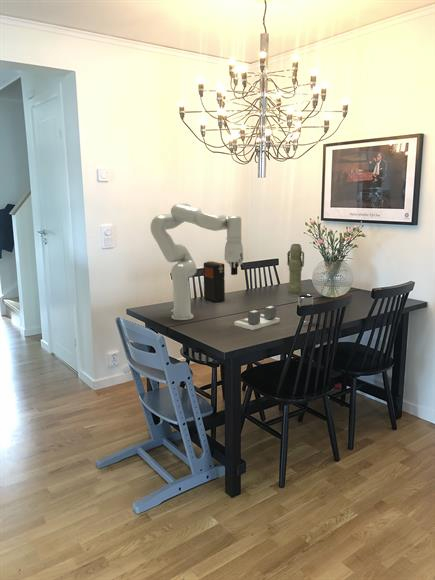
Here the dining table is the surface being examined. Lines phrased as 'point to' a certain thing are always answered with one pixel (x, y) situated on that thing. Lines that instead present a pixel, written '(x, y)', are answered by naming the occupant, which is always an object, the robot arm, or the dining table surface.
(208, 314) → the dining table surface
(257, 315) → the grey rounded block
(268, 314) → the handle
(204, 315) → the dining table surface
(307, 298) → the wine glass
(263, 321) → the white rectangular tray
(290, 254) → the olive green tall statue
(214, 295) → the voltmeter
